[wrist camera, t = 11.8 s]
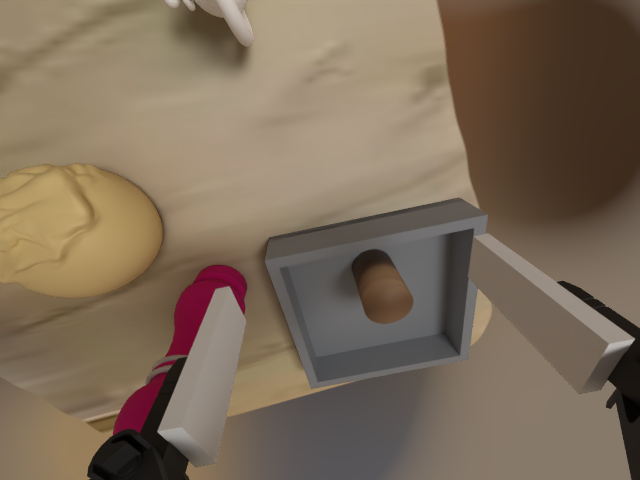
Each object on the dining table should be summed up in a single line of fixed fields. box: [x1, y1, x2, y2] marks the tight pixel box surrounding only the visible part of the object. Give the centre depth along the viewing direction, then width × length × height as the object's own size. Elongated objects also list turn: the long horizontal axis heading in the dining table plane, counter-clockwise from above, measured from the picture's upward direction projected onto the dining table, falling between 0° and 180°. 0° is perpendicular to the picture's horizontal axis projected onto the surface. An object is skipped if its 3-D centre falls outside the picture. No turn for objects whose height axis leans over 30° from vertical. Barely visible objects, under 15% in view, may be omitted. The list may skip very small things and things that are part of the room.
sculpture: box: [0, 163, 163, 298], centre depth 22 cm, size 11×12×11 cm
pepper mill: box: [113, 265, 247, 435], centre depth 24 cm, size 7×7×20 cm
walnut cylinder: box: [352, 249, 413, 324], centre depth 29 cm, size 5×5×7 cm
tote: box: [264, 198, 488, 389], centre depth 33 cm, size 22×22×5 cm
